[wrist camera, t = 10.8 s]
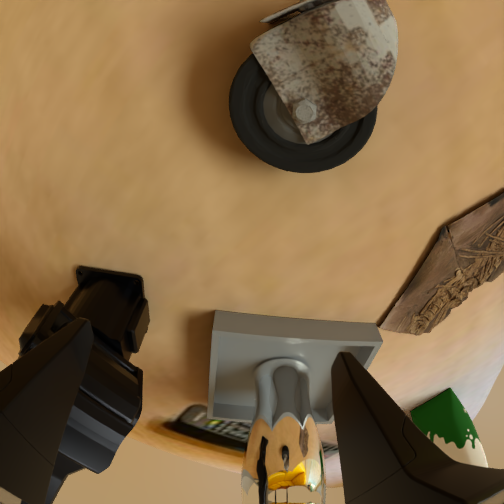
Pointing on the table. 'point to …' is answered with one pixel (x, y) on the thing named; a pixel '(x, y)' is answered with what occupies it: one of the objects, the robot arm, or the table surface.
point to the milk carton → (450, 428)
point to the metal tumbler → (283, 439)
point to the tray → (275, 347)
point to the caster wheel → (315, 83)
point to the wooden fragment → (452, 270)
